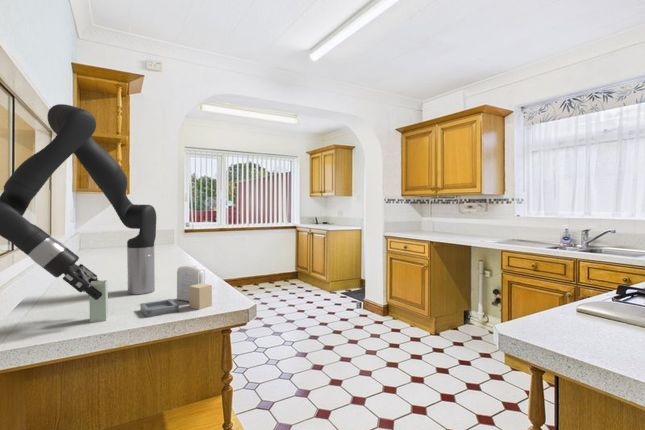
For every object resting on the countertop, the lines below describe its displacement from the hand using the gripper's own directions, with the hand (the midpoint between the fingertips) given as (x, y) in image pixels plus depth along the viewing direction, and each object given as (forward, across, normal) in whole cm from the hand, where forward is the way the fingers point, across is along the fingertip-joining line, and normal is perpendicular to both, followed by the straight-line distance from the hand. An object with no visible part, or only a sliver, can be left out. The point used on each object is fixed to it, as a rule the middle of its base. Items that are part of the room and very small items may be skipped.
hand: (102, 293), depth 105 cm
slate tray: (+16, +2, -5) cm, 17 cm away
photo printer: (+23, +12, -12) cm, 29 cm away
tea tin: (+5, 0, +6) cm, 8 cm away
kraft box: (+25, +2, -14) cm, 29 cm away
